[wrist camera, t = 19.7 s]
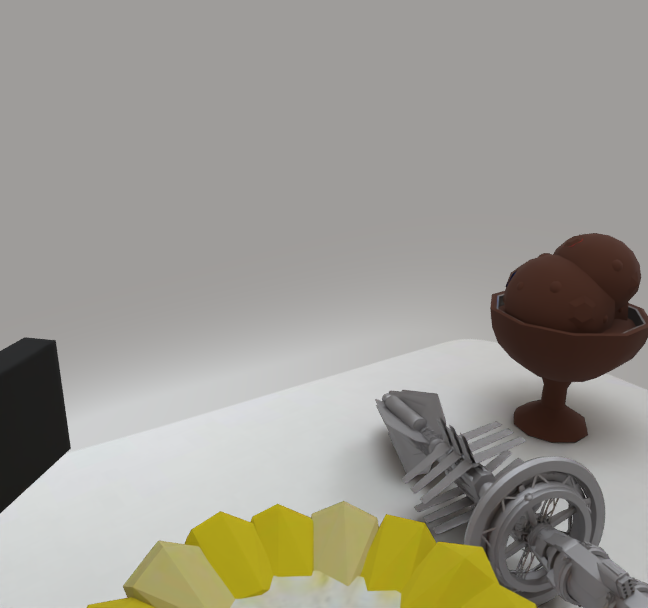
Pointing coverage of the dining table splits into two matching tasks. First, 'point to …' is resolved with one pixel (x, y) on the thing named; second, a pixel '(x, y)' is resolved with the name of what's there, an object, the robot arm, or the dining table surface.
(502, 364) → the dining table surface
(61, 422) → the robot arm
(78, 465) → the dining table surface
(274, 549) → the food
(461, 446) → the spaceship
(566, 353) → the ice cream bowl
